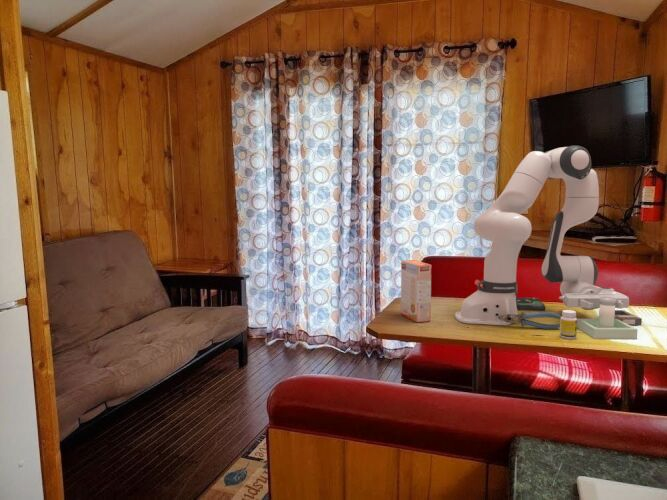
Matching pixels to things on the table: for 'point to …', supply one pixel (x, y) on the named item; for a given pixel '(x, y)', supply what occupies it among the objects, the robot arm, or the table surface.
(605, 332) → the tray
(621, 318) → the dark grey tray
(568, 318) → the supplement bottle
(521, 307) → the disk drive
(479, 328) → the table surface
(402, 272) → the cracker box
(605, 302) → the fuse
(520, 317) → the pliers
